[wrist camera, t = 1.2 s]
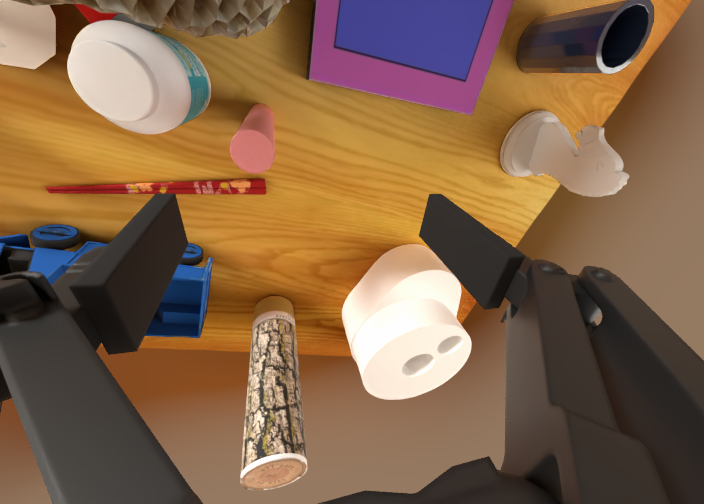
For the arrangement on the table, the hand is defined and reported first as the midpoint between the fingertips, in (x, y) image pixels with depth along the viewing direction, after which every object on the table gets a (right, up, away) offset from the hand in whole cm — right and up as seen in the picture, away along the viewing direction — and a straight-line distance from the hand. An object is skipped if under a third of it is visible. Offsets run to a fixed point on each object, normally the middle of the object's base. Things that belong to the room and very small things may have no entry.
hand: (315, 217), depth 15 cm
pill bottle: (-17, +16, +15) cm, 28 cm away
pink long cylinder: (-9, +14, +18) cm, 25 cm away
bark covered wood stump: (-12, -12, +34) cm, 38 cm away
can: (+26, +25, +21) cm, 42 cm away
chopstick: (-21, +6, +20) cm, 30 cm away
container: (+10, -11, +40) cm, 43 cm away
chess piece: (+30, +15, +29) cm, 44 cm away
